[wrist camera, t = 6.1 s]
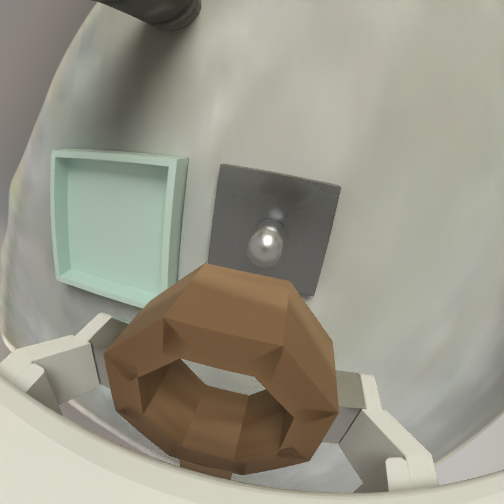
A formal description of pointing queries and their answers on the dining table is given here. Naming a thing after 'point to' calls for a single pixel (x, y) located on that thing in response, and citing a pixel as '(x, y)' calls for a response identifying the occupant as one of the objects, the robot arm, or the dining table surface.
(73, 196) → the tray
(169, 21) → the beverage cup
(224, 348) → the ring
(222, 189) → the stake
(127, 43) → the dining table surface
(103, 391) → the dining table surface
